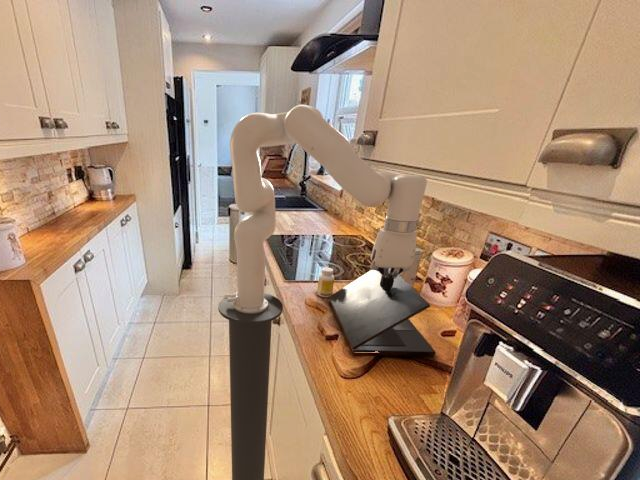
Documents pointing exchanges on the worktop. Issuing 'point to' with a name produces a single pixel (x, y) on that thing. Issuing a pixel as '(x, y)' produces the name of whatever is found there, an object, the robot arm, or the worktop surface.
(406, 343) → the laptop
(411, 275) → the energy drink can
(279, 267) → the worktop surface
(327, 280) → the supplement bottle
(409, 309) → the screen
